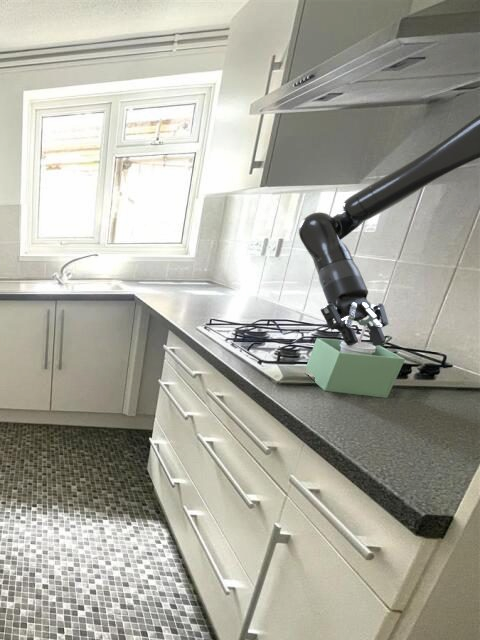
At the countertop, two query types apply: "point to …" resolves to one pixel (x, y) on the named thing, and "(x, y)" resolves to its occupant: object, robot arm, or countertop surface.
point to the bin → (353, 369)
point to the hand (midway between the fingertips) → (366, 344)
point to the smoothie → (358, 346)
